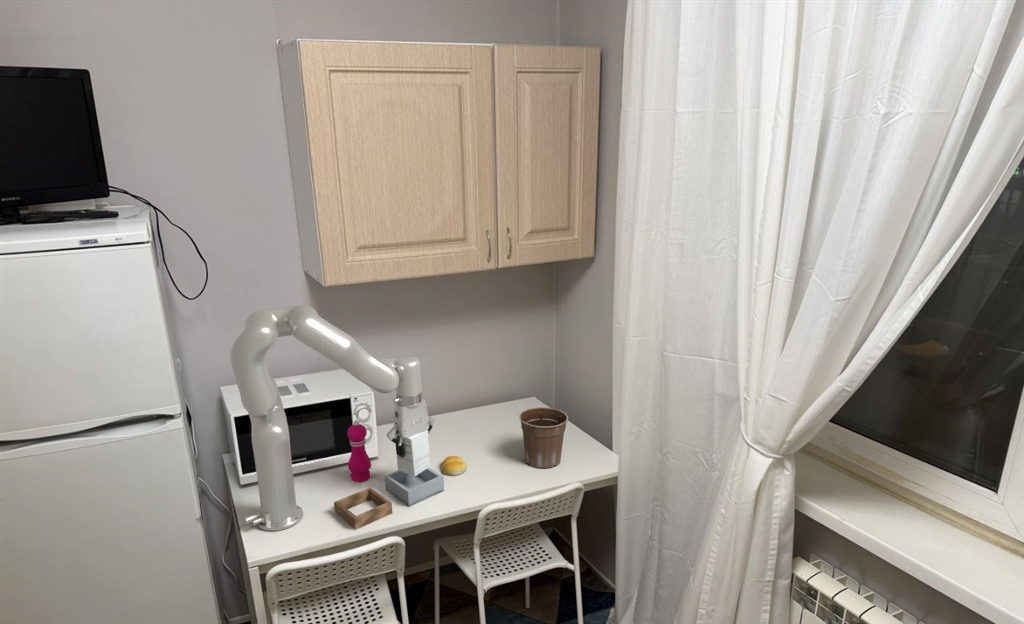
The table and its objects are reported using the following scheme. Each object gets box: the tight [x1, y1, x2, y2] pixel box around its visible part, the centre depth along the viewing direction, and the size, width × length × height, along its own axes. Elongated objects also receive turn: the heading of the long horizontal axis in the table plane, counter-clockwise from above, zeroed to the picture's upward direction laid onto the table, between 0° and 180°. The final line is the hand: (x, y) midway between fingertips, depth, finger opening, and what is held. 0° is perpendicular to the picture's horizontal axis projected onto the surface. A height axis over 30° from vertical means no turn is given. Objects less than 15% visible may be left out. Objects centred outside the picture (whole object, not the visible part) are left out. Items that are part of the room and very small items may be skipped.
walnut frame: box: [333, 487, 393, 531], centre depth 187 cm, size 12×12×4 cm
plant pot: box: [518, 406, 569, 469], centre depth 215 cm, size 16×16×16 cm
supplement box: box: [394, 430, 431, 476], centre depth 195 cm, size 7×7×13 cm
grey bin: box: [384, 467, 445, 508], centre depth 198 cm, size 13×13×5 cm
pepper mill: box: [346, 420, 372, 483], centre depth 205 cm, size 7×7×20 cm
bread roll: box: [440, 455, 468, 477], centre depth 211 cm, size 8×9×4 cm
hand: (412, 450), depth 195 cm, fingers closed on supplement box, 8 cm apart
